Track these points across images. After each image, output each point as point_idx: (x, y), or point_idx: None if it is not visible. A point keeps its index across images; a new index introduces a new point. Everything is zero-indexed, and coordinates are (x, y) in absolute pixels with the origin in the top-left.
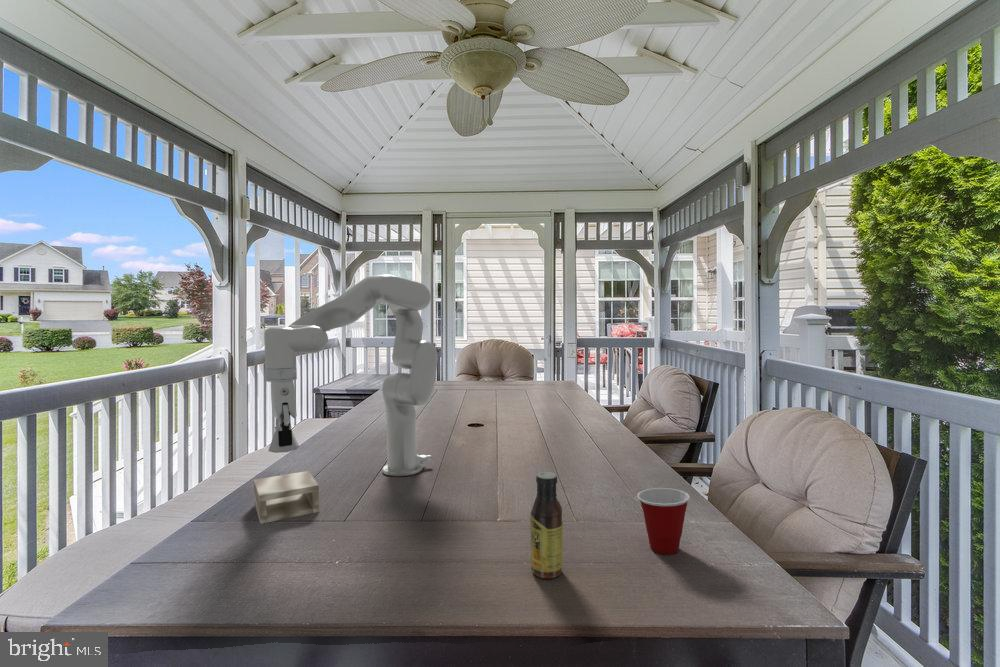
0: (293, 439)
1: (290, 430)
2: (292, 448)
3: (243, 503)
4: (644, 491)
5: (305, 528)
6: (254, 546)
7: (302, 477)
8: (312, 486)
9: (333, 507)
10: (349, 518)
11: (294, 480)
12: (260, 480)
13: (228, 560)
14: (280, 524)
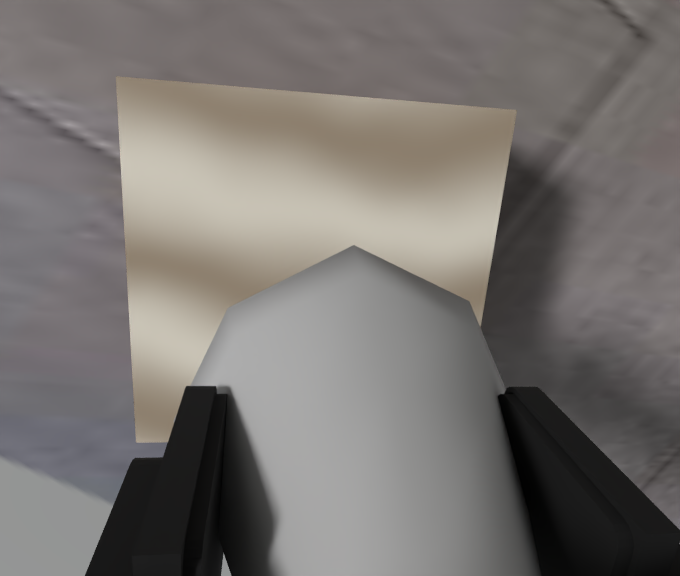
0: (466, 375)
1: (664, 544)
2: (488, 353)
3: (105, 406)
4: None
5: (593, 219)
6: (608, 403)
7: (275, 163)
8: (508, 151)
9: (443, 25)
10: (637, 5)
11: (309, 227)
12: (175, 410)
13: (646, 474)
14: None
